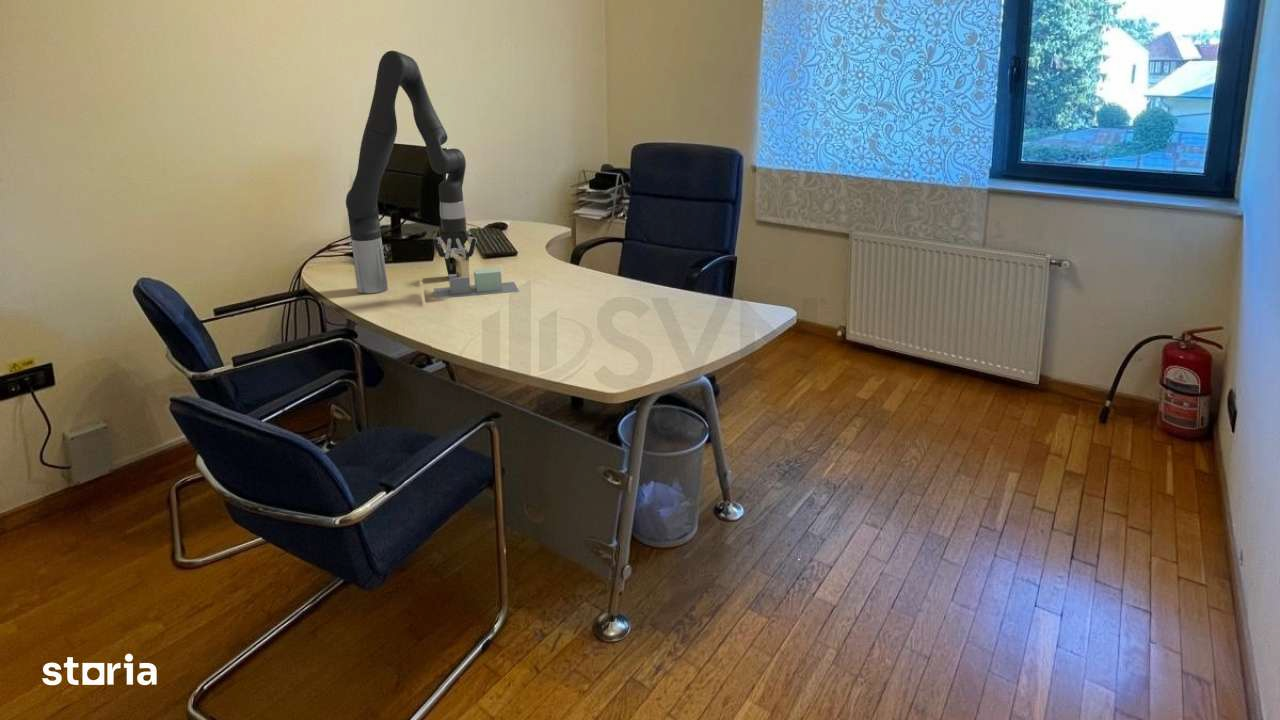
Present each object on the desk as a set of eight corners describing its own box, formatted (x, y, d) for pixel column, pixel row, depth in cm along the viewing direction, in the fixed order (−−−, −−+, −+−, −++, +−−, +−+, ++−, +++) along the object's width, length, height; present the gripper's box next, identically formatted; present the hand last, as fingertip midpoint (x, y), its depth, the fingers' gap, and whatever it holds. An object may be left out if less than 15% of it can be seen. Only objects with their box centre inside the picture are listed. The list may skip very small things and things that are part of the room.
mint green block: (476, 292, 255) (475, 273, 253) (475, 287, 259) (473, 269, 257) (502, 289, 257) (500, 271, 255) (500, 285, 261) (498, 267, 259)
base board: (435, 301, 249) (433, 283, 247) (434, 291, 260) (432, 273, 257) (519, 294, 255) (518, 276, 253) (514, 284, 266) (513, 267, 264)
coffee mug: (457, 284, 267) (454, 255, 263) (440, 280, 272) (437, 251, 268) (483, 277, 276) (481, 248, 272) (466, 273, 281) (464, 245, 277)
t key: (448, 271, 259) (446, 252, 257) (455, 270, 260) (453, 252, 258) (462, 281, 248) (460, 262, 246) (469, 280, 249) (468, 261, 247)
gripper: (478, 213, 251) (482, 266, 257) (432, 213, 251) (438, 266, 257) (473, 218, 244) (478, 272, 250) (426, 218, 244) (432, 272, 250)
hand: (457, 269), depth 254 cm, fingers closed on t key, 4 cm apart
